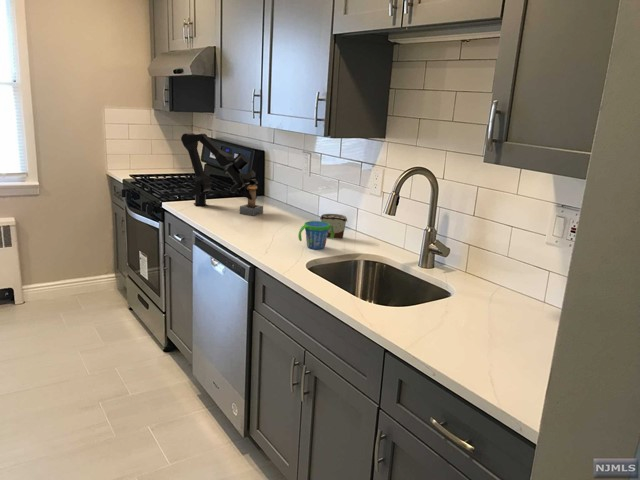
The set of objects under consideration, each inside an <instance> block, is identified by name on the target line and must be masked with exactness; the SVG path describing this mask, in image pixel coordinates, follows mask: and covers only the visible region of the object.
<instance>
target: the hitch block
mask: <svg viewBox="0 0 640 480" xmlns="http://www.w3.org/2000/svg"><path fill="white" fill-rule="evenodd" d="M262 214H264V206H263V205H259V204H255V207H254V208H252V207H248V203H246V204H243V205H239V215H244V216H245V215H246V216H250V217H257V216H260V215H262Z"/></svg>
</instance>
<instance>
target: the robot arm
mask: <svg viewBox="0 0 640 480" xmlns="http://www.w3.org/2000/svg"><path fill="white" fill-rule="evenodd" d="M180 141H181V143H182V146H183V147H184V148H185V149H186V151H187V153H188V155H189V158H190V162H191V165H192V168H193V171H194V175H195V179H194V187H193V188H192V189H191V190H190V192H191V194H192V195H194V198H195V199H194V202H193V205H194V206H195V207H208V204H207V194H210V191H211V189H212V184H213V183H212V181H211V177H210V176H207V175H206V174H205V170H204V168H203V163H202V161H201V157H200V154H199V150H198V146H199V142H200V143H201V145H203V147H205V149H207V150H208V151H209V152H210V153H211V154H212V155H213V156H214V158H215V160H216V162H217V163H218V165H219V166H221V167H225V168H224V169H223V174H228V175H229V177H231V179H232V180H231V181H232V183H234V184H233V185H232V186H231V187H230V192H231V193H232V194H236V193H237V194H238V195H241V196H243V197H245V198H246V199H247V200H248V199H250V200H252V197H251V195H250V193H249V192H248V188H247V186H248V185H254V186H257V184H259V182H258V180H257V179H256V175H257V174H256V172H255V171H254V169H252V170H249V171H248V172H246V173H244V172H241V170H244V168H246V166H247V165H249V164H250V158H249V157H248V156H246V155H245V154H243V152H239V153H238V154H237V156H235V157H233V156H232V155H231V154H230V153H228V152H227V151H224V150H222V149H221V148H220V146H218V145H217V144H216V143H215V142H214V141H213V140H212V139H211V138H210V137H209V136H208V134H206V133H203V132H202V133H196V134H195V133H194V132H193V133H192V132H191V133H190V132H188V133H183V134H182V135H181V137H180ZM253 178H254V179H253ZM237 190H238V191H237ZM257 198H258V197H257V195H256V199H257Z"/></svg>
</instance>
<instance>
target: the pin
mask: <svg viewBox="0 0 640 480" xmlns="http://www.w3.org/2000/svg"><path fill="white" fill-rule="evenodd" d="M247 188H248V192H249V193H250V195H251V197H252V200H250V199H248V198H247V204H248V207H252V208H254V207H255V205H256V199H257V198H256V196H257V189H258V185H255V186H254V185H248V186H247Z"/></svg>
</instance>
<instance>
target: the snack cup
mask: <svg viewBox="0 0 640 480" xmlns="http://www.w3.org/2000/svg"><path fill="white" fill-rule="evenodd" d="M330 227H331V238H330V239H335V238H334V228H333V227H332V226H331V225H330V224H329V223H326V222H322V221H321V220H310V221H306V222H304V225H302V226H301V227H300V228H299V232H298V240H299V241H300V242H302V233H303V231H304V230H305V241H306V246H307V248H309V249H312V250H323V249H325V248H326V243H327V239H328V238H327V235H328V230H329V228H330Z"/></svg>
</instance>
